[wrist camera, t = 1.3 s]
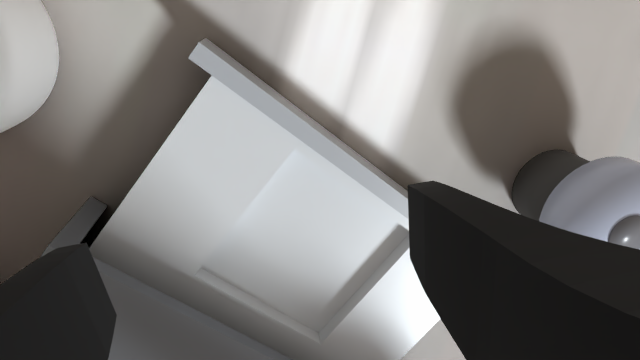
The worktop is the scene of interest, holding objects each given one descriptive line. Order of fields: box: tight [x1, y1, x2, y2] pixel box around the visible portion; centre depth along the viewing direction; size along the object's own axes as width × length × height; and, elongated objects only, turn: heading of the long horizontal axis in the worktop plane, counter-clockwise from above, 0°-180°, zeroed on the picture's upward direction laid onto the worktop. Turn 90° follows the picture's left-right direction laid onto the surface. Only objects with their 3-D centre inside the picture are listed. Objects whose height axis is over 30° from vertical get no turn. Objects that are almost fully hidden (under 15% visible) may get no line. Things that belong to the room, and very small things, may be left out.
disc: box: [539, 157, 640, 250], centre depth 19 cm, size 6×6×2 cm
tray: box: [89, 38, 441, 360], centre depth 20 cm, size 18×11×2 cm, turn 51°
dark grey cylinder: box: [512, 150, 590, 221], centre depth 21 cm, size 4×4×4 cm
